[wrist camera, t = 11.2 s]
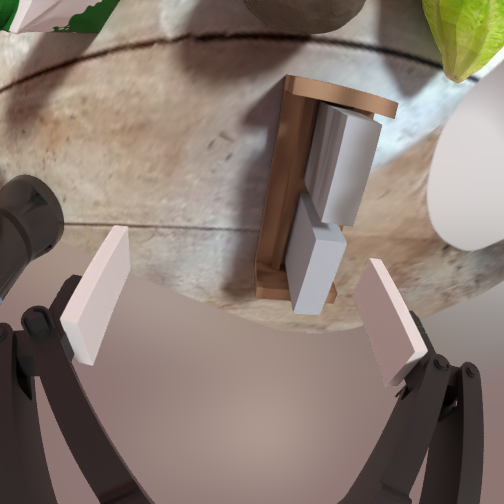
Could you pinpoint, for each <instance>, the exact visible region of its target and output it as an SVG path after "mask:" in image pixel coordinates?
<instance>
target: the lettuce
mask: <svg viewBox="0 0 504 504" xmlns="http://www.w3.org/2000/svg"><path fill="white" fill-rule="evenodd" d="M422 7H423V10H424V13H425V16H426V19H427V22H428V24H429V27H430V29H431V32H432V34H433V37H434V39H435V42H436V44H437V46H438V48H439V51H440V53H441V59H442V65H443V69H444V73H445V75H446V77H447V78H449V79H450V80H452V81H454V82H456V83H460V82H462V81H464V80H465V79H466V78H467V77H469V76H470V75H471V74H473V73H475V72H477V71H479V70H480V69H481V68H482V67H483V66H485V65H486V64H487V63H488V62H489V61H490V59H491V58H492V57H493V56H494V55H495V54H496V53H497V52H498V51H499V50H500V49H501V48H502V47H503V46H504V0H422Z"/></svg>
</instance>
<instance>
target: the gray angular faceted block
mask: <svg viewBox="0 0 504 504" xmlns="http://www.w3.org/2000/svg"><path fill="white" fill-rule="evenodd" d="M346 245H347V242H346V240H345V238H344V236H343V234H342V232H341V230H340V228H339V226H338V225H337V224H330V223H323V222H321V221H320V218H319V216H318V213H317V211H316V209H315V206H314V204H313V201H312V199H311V197H310V194H308V193H301V192H299V197H298V201H297V206H296V210H295V214H294V218H293V223H292V227H291V231H290V235H289V239H288V243H287V248H286V252H285V256H284V259H285V265H286V271H287V278H288V284H289V290H290V297H291V303H292V310H293V313H295V314H310V315H320V313H321V310H322V308H323V305H324V303H325V300H326V298H327V295H328V293H329V290H330V288H331V285H332V282H333V280H334V277H335V275H336V272H337V269H338V267H339V264H340V261H341V259H342V256H343V253H344V250H345V247H346Z"/></svg>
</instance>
